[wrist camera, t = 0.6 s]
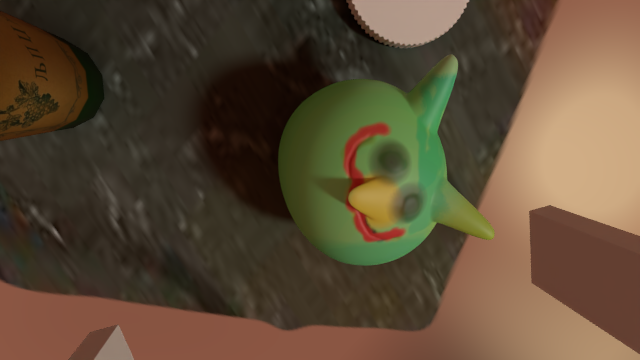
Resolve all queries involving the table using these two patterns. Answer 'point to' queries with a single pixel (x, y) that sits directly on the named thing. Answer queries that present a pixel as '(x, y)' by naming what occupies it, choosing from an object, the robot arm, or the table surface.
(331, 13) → the table surface
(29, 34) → the bottle
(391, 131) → the toy bird
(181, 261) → the table surface
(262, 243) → the table surface
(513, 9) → the table surface
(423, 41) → the plastic lid
